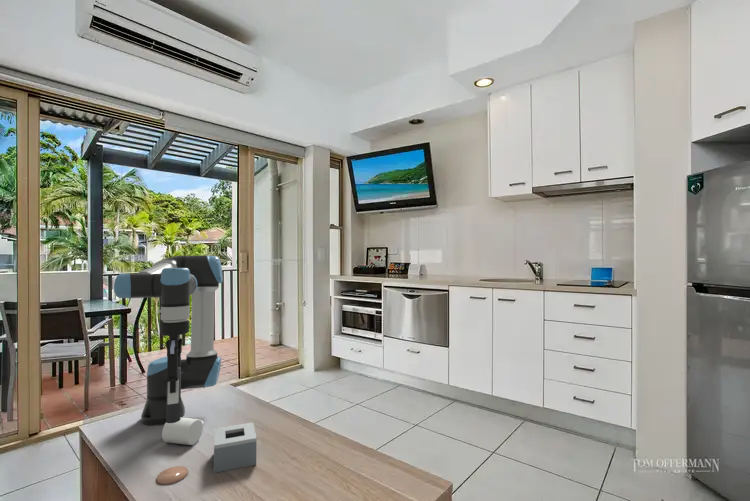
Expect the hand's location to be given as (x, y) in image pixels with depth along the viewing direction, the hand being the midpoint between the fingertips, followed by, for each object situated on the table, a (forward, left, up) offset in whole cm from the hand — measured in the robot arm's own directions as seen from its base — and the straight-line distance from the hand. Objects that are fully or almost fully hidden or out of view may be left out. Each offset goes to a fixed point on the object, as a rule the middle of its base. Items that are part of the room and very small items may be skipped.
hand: (173, 400), depth 108 cm
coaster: (0, 0, -22) cm, 22 cm away
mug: (-23, +2, -22) cm, 32 cm away
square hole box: (-3, +17, -22) cm, 28 cm away
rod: (0, 0, -6) cm, 6 cm away
